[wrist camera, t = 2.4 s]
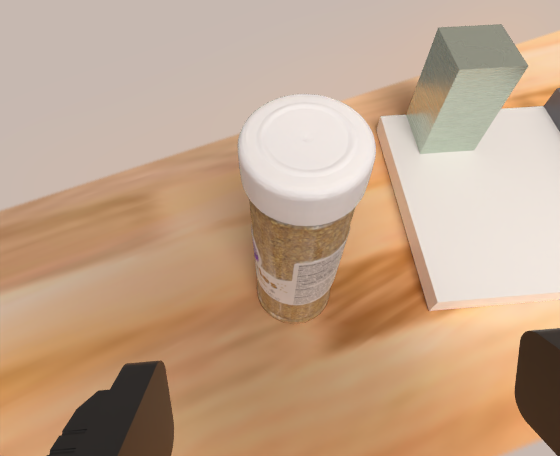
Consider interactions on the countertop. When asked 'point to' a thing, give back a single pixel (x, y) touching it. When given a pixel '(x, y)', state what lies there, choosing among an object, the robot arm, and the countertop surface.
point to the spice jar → (302, 196)
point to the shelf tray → (482, 209)
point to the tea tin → (463, 87)
